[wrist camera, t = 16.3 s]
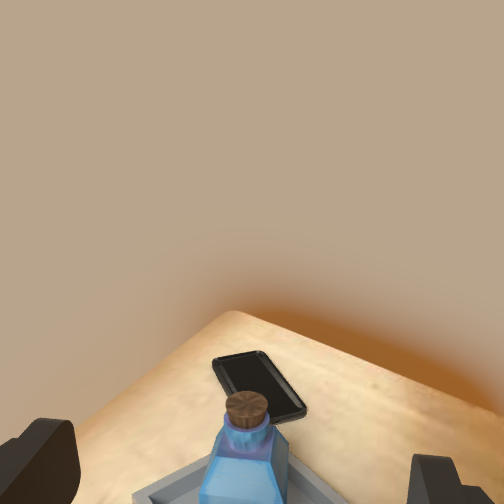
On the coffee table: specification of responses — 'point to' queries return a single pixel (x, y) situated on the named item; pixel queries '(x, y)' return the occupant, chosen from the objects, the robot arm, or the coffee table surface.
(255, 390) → the phone
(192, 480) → the grey tray
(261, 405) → the perfume bottle
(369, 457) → the coffee table surface
